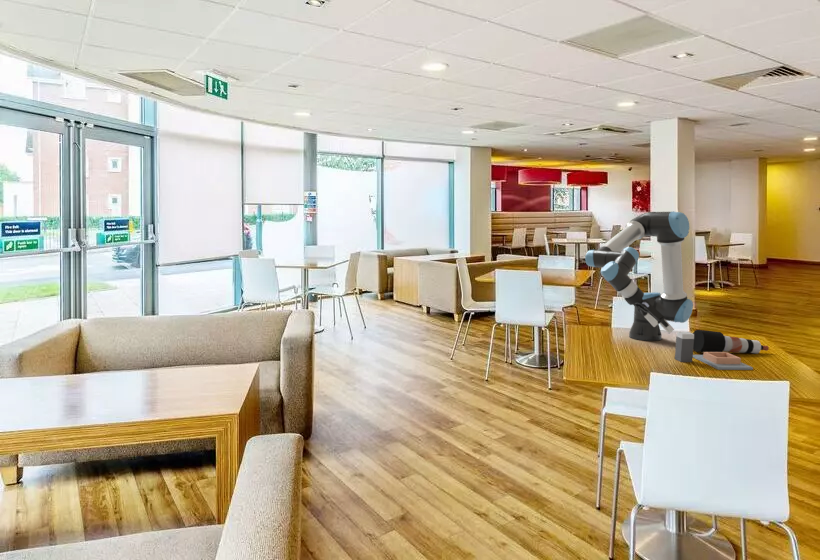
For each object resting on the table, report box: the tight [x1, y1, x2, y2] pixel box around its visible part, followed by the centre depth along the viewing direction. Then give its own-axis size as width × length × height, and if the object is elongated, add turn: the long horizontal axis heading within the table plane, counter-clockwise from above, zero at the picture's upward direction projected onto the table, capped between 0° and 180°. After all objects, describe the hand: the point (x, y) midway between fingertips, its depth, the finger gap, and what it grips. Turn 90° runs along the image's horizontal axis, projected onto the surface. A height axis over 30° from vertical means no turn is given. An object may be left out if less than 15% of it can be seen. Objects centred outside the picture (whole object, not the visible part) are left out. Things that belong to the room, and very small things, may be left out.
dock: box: [693, 351, 754, 371], centre depth 232 cm, size 20×14×4 cm
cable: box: [692, 329, 770, 354], centre depth 250 cm, size 10×34×10 cm
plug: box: [674, 331, 694, 363], centre depth 235 cm, size 5×5×12 cm
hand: (663, 328), depth 234 cm, fingers open, 13 cm apart
